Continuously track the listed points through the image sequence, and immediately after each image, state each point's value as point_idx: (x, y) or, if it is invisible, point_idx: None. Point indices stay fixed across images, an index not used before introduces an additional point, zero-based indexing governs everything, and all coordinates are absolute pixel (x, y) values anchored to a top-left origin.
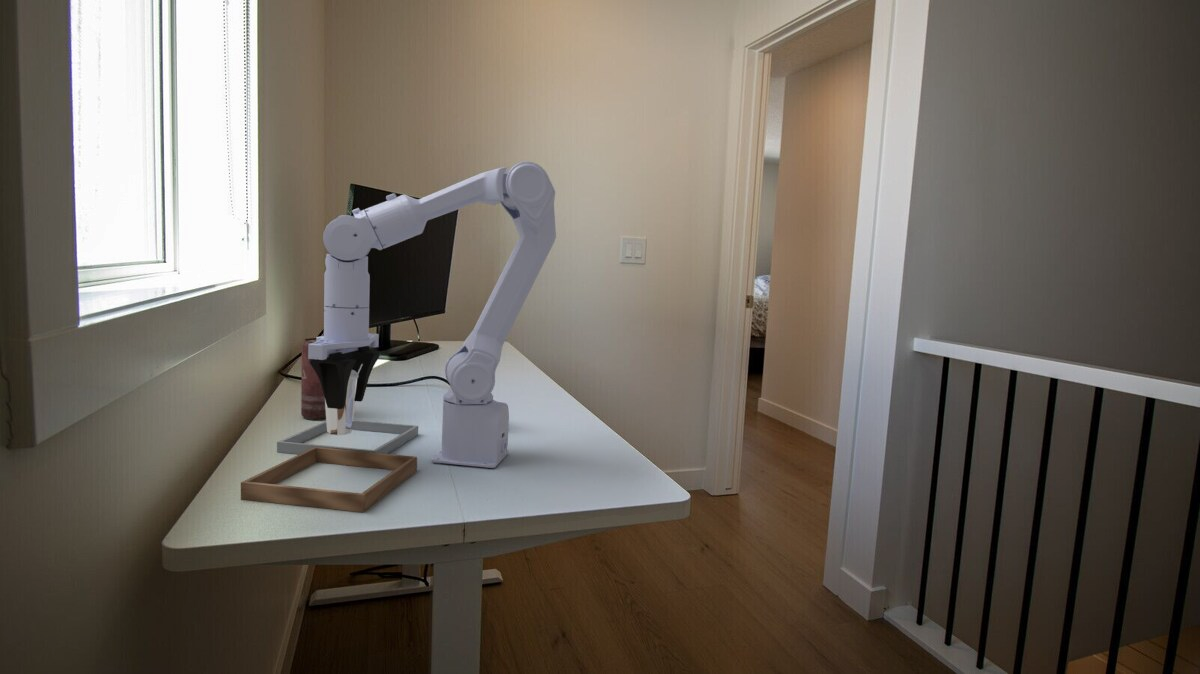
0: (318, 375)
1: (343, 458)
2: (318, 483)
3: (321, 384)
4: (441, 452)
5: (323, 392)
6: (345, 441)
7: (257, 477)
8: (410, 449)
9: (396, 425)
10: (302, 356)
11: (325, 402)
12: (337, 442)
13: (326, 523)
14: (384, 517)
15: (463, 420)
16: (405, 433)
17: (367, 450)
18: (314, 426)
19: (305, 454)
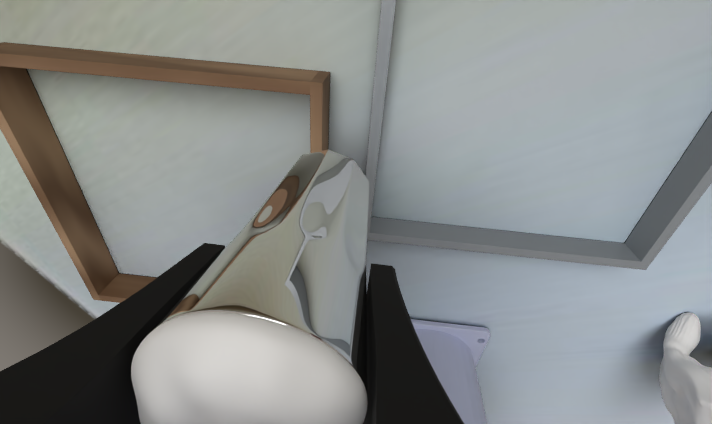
0: (12, 373)
1: None
2: (183, 163)
3: (93, 322)
4: (425, 328)
5: (146, 285)
6: (567, 70)
7: (18, 66)
8: (475, 263)
9: (676, 210)
10: None
11: (251, 219)
12: (554, 46)
13: (50, 247)
14: (119, 303)
15: None
16: (548, 259)
17: None
18: None
19: (251, 87)
